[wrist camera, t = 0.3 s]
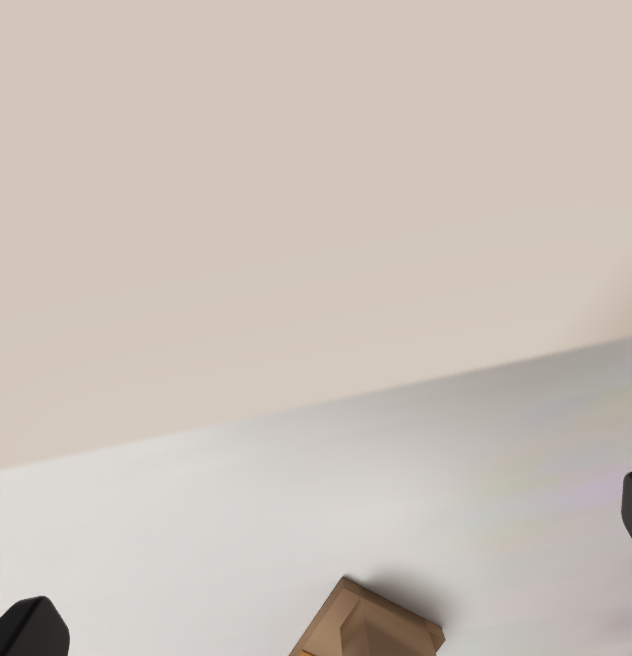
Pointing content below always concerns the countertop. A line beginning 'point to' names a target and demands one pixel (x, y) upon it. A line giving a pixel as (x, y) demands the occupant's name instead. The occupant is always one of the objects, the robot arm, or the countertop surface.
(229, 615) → the countertop surface
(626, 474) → the robot arm
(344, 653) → the rail
